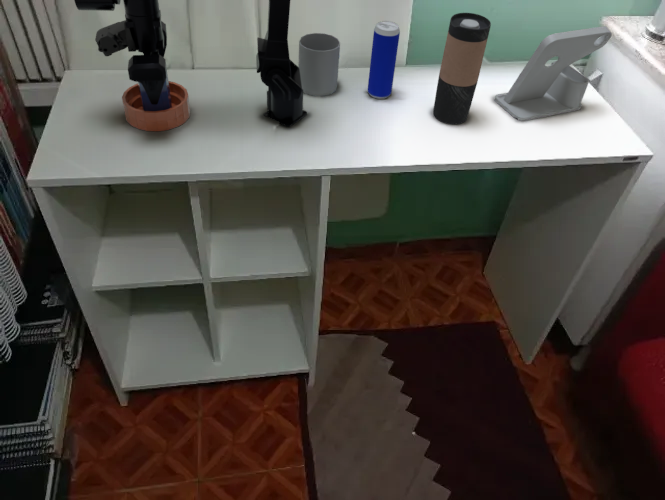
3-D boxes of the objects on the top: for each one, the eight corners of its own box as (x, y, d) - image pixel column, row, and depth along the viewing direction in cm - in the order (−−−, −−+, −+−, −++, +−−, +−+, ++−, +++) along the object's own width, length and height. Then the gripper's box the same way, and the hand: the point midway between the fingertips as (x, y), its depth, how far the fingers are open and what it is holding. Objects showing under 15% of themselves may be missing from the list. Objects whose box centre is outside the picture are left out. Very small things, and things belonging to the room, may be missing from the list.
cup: (332, 98, 129) (335, 53, 122) (294, 92, 130) (295, 47, 123) (339, 79, 135) (343, 36, 128) (303, 74, 136) (304, 30, 129)
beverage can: (395, 92, 132) (405, 25, 122) (383, 102, 129) (392, 33, 119) (374, 85, 134) (382, 17, 124) (362, 94, 131) (369, 26, 121)
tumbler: (178, 113, 120) (172, 65, 114) (157, 124, 117) (150, 76, 110) (158, 103, 122) (151, 56, 116) (138, 114, 119) (129, 67, 112)
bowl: (203, 114, 122) (201, 93, 119) (158, 141, 114) (154, 120, 111) (159, 93, 126) (156, 73, 123) (112, 118, 119) (108, 97, 115)
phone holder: (555, 86, 139) (583, 7, 126) (585, 109, 132) (617, 28, 120) (492, 98, 133) (513, 16, 121) (519, 122, 127) (545, 38, 114)
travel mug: (472, 111, 129) (496, 18, 115) (462, 129, 123) (485, 33, 110) (438, 102, 131) (456, 8, 117) (426, 118, 125) (445, 23, 112)
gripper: (97, -11, 111) (114, 69, 122) (88, 35, 98) (107, 120, 108) (161, -12, 113) (171, 67, 124) (160, 33, 100) (171, 117, 110)
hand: (155, 91), depth 116 cm, fingers open, 9 cm apart
